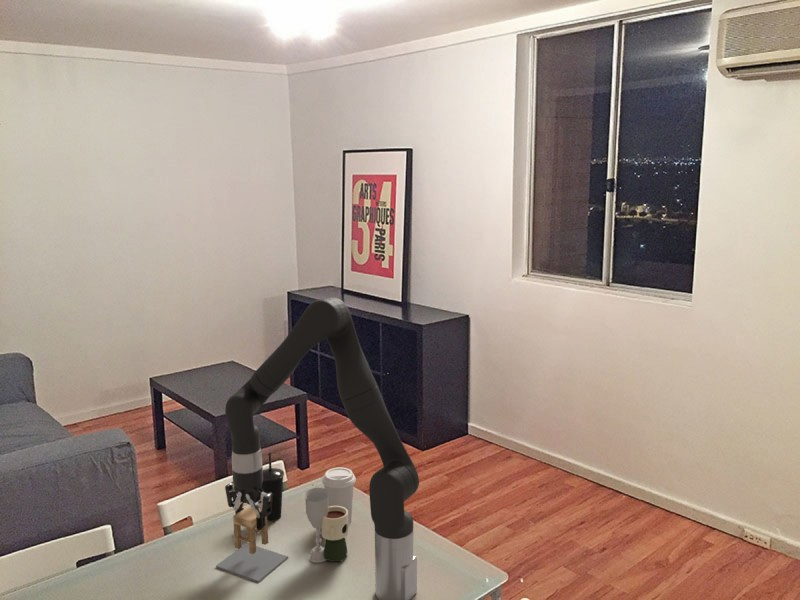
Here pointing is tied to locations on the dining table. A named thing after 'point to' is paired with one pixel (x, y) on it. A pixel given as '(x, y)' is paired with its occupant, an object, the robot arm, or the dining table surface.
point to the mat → (252, 563)
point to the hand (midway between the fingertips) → (250, 525)
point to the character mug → (335, 533)
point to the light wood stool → (248, 529)
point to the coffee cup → (340, 488)
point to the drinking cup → (273, 489)
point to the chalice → (317, 517)
